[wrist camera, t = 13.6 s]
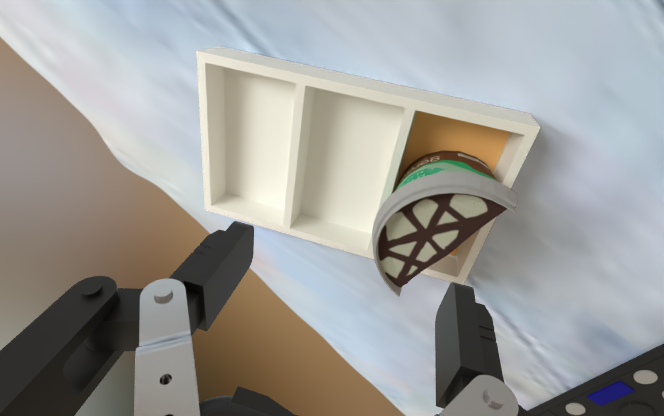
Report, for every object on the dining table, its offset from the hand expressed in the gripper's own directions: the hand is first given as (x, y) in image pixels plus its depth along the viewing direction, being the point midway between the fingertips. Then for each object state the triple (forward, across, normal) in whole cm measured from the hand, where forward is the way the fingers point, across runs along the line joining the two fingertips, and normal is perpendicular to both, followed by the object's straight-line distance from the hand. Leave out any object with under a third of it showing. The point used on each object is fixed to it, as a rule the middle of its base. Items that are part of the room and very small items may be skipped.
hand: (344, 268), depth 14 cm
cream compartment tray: (+22, +3, +6) cm, 23 cm away
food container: (+21, -4, +5) cm, 22 cm away
